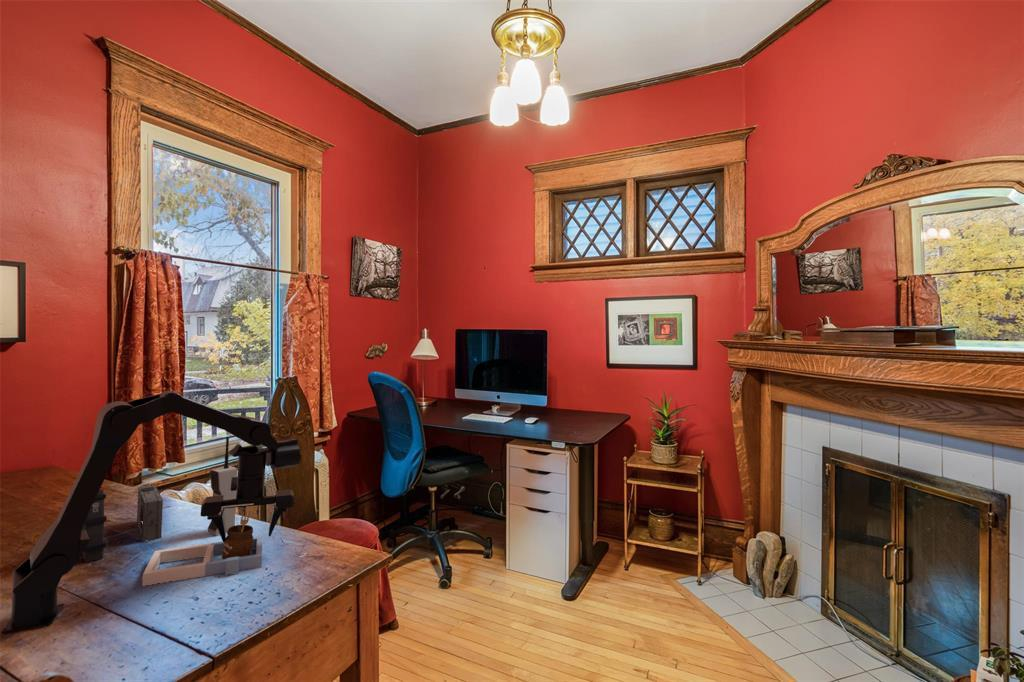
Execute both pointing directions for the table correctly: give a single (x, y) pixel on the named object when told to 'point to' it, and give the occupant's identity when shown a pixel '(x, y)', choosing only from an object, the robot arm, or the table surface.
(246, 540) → the utensil holder
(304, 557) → the table surface
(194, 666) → the table surface
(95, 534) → the dark ridged block
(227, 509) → the vintage mobile phone
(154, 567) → the beige grey rectangular frame
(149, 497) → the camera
